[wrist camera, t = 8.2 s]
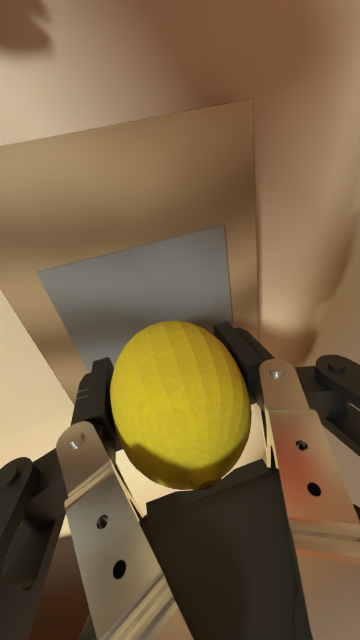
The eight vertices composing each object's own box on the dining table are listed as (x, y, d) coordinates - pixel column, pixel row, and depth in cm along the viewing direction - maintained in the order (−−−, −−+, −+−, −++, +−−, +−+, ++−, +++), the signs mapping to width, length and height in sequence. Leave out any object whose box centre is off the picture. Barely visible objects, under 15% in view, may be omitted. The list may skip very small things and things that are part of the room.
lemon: (216, 300, 13) (328, 413, 6) (195, 377, 15) (260, 521, 8) (115, 291, 11) (113, 431, 5) (109, 378, 14) (102, 559, 7)
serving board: (-56, 166, 10) (-85, 160, 9) (237, 109, 12) (254, 97, 10) (104, 435, 20) (103, 453, 19) (251, 385, 22) (261, 398, 20)
